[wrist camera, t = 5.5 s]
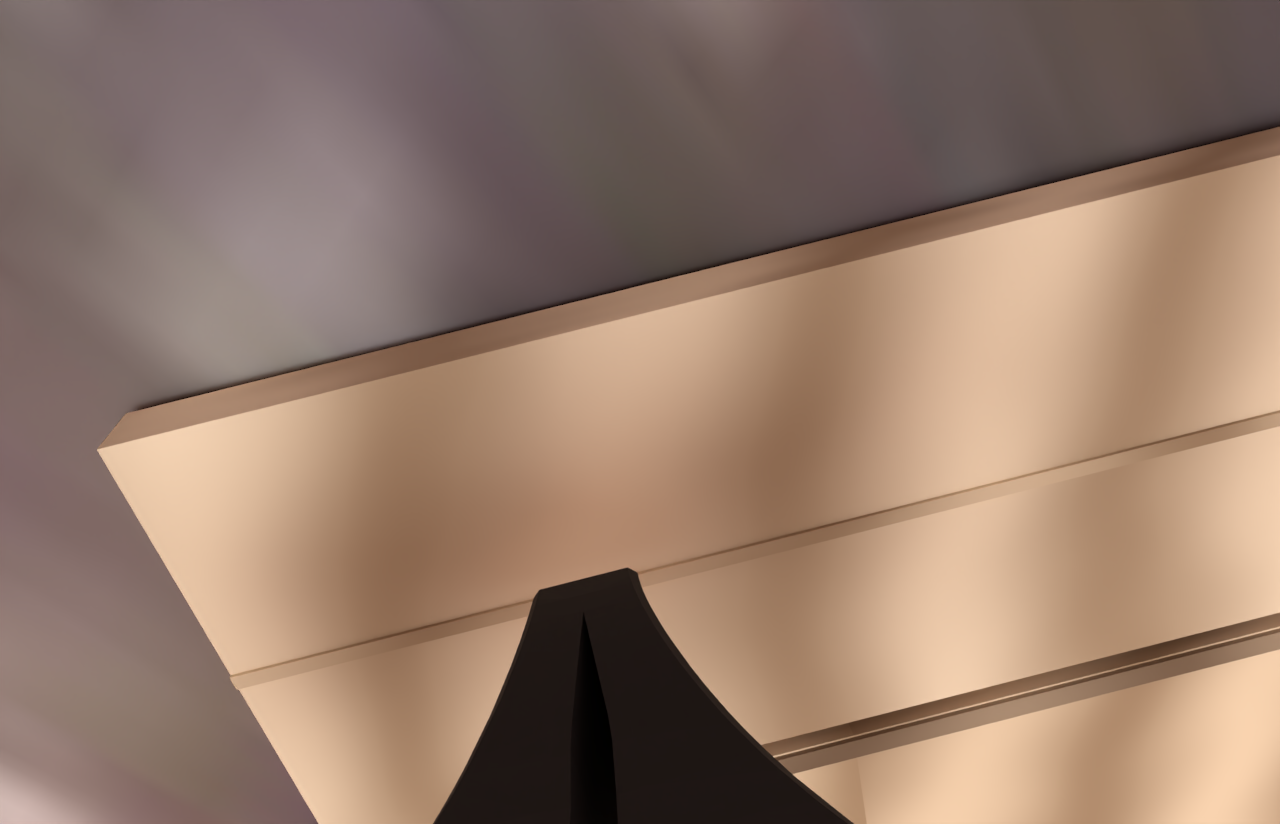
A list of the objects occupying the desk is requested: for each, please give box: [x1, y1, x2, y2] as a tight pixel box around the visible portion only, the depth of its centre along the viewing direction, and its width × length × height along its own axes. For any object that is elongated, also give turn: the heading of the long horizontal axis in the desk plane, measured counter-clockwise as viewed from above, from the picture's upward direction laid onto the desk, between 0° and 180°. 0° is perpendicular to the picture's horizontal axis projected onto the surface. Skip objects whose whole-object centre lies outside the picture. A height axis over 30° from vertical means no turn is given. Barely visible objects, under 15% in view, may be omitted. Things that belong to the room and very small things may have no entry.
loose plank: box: [97, 127, 1280, 824], centre depth 17 cm, size 22×10×1 cm, turn 103°
